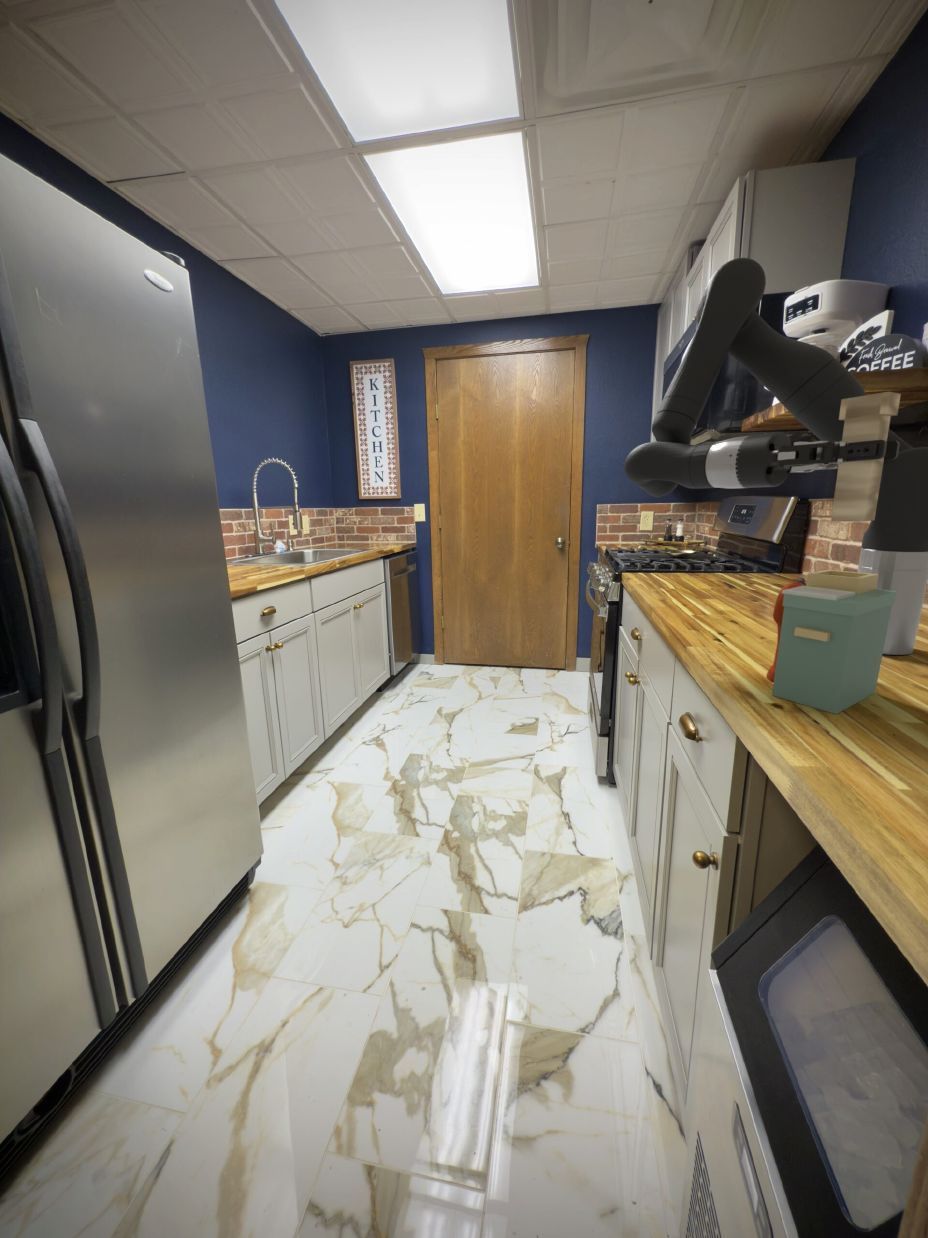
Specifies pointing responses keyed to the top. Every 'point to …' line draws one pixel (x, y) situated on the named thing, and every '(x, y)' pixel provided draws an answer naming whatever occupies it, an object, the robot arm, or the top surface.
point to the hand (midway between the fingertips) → (890, 449)
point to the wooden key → (862, 477)
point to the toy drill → (778, 619)
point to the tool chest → (832, 640)
